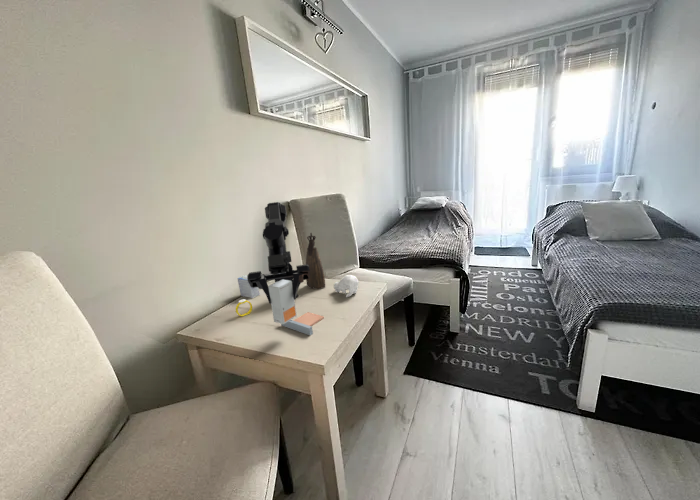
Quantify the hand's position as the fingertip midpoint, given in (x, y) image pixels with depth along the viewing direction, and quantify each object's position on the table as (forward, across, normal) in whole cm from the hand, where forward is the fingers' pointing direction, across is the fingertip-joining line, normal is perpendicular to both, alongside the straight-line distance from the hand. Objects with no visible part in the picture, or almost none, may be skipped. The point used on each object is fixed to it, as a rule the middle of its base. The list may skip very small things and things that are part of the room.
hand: (282, 301), depth 87 cm
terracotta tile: (+2, +7, +16) cm, 18 cm away
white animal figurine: (-11, +24, +30) cm, 40 cm away
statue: (-21, +12, +40) cm, 47 cm away
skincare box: (+4, 0, +6) cm, 7 cm away
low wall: (+5, +3, +13) cm, 14 cm away
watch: (-8, -16, +27) cm, 33 cm away
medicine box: (-22, -17, +42) cm, 50 cm away
